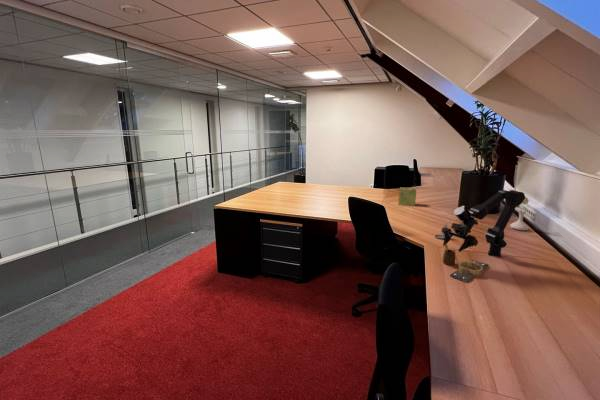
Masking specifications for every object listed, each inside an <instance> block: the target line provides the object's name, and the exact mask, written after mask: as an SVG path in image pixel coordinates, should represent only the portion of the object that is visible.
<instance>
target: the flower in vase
mask: <svg viewBox="0 0 600 400" xmlns="http://www.w3.org/2000/svg"><path fill="white" fill-rule="evenodd" d="M529 202H530V201H529V198H527V196H525V199H524V200H523V202H522V203H521V204H523V205H527V204H528V203H529ZM521 204H520V205H519V206H517V207H516V208H517V209H518V210H517V211H518V219H517V221H515V222H512V223H511V224H510V225H509V226H510V228H511V229H513V228H514V229H513V230H519V231H528V230H530V226H529V225H528V224H526V223H525V222H524V217H525V216H524V215H525V214H526V213H527V211H526V210H524V209H526V208H527V207H521Z"/></svg>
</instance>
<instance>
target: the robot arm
mask: <svg viewBox="0 0 600 400" xmlns="http://www.w3.org/2000/svg"><path fill="white" fill-rule="evenodd" d="M525 197H526V195H525V193H524V192H523V191H518V190H514V189H511V190H505V189H500V190H498V191H497V192H496V193H494V194H493V195H492V196H490V197H489V198H487V199H486V200H485V201H484V202H483V203H481V204H476V205H474V206H472V207H471V208H469V209H468V207H466V206H465V205H461V206H459V207H457V208H455V209H454V210H453V214H454V215H455V216H456V218H458V220H459V221H461V223H455V222H452V224H451V226H450V228H448V227H447V226H446V227H447V228H446V227H445V226H443V227H444V228H443V229H442V228H441V230H442V231H441V233H442V232H443V233H444V235H445V237H444V239H443V243H442V246H443V247H445V243H446V244H447V245H448V243H449V242H450V241H451V240H452V237H453V236H454V237H456V238H459V239H462V240H463V243H462V244H461V245H460V247H459V248H458V252H459V253H460V252H463V251H464V250H466V249H468V248H471V247H474V246H475V247H477V246H478V244H479V241H478V239H477V238H476V236H475V235H471V233H472V231H471V230H472V229H473V227H474V226H475V225H476V226H478V225H479V222H478V220H483V219H485V217H487V215H488V214H489V212H490V210H492V209H493V208H495V207H496V206H497V205H498V204H500V203H501V202H503V201H504V202H505V205H504V206H503V209H502V211H501V212H500V215H499V216H498V218H497V220H496V223H495V224H494V226H493V227H488V229H487V231H486V232H485V236H484V237H485V239H486V243H487V244H489V250H488V251H487V255H488V256H491V257H496V258H502V249H504V248H506V247H507V245H508V243H507V242H506V241H505V239H504V238H505V229H506V227H507V226H508V223H509V222H510V219H511V217H512V215H513V213H514V212H515V209H516V208H517V206H519V205H520V206H521V204H522V202H523V200H524V199H525ZM452 229H453V230H452Z"/></svg>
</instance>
